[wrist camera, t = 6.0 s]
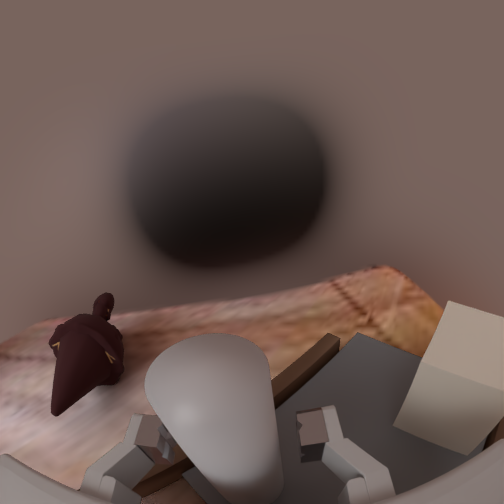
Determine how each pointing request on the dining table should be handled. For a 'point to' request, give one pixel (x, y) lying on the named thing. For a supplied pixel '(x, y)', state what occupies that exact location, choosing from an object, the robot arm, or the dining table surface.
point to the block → (458, 381)
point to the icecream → (85, 355)
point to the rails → (282, 391)
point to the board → (286, 419)
